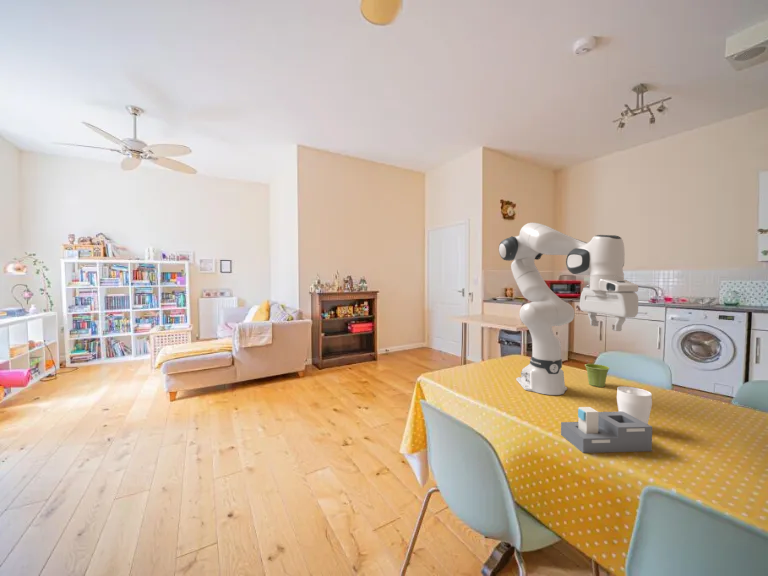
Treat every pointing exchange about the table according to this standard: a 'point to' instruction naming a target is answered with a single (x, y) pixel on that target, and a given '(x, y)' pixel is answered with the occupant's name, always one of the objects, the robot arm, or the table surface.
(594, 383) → the plant pot
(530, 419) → the table surface
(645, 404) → the cup
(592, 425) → the plug
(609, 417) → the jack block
